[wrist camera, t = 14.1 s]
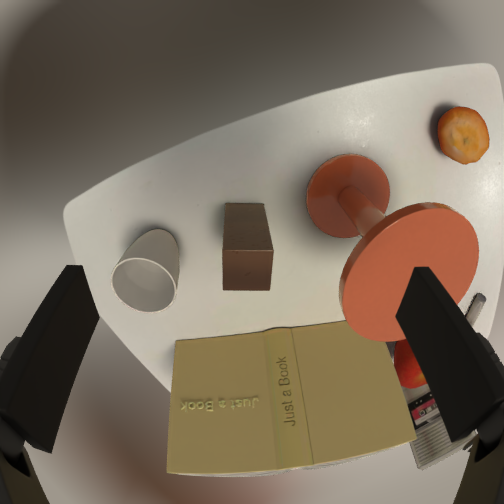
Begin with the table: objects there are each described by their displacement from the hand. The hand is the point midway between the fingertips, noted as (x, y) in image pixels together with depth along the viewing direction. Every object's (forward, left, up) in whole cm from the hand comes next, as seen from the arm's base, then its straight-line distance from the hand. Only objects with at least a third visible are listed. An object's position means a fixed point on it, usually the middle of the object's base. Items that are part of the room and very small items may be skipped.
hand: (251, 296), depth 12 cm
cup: (+14, -11, -29) cm, 34 cm away
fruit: (-6, +30, -29) cm, 42 cm away
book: (+34, +8, -29) cm, 46 cm away
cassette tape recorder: (+47, +42, -29) cm, 70 cm away
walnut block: (+11, +1, -29) cm, 31 cm away
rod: (+31, +51, -29) cm, 66 cm away
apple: (+35, +35, -29) cm, 58 cm away
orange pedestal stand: (+6, +15, -29) cm, 33 cm away
